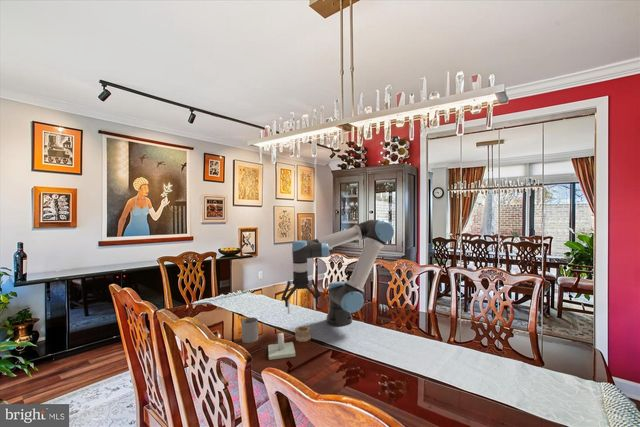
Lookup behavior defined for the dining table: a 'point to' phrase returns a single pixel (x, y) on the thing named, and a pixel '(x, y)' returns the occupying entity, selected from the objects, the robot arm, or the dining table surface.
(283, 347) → the post stand
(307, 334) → the ring
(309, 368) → the dining table surface
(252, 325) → the cup
